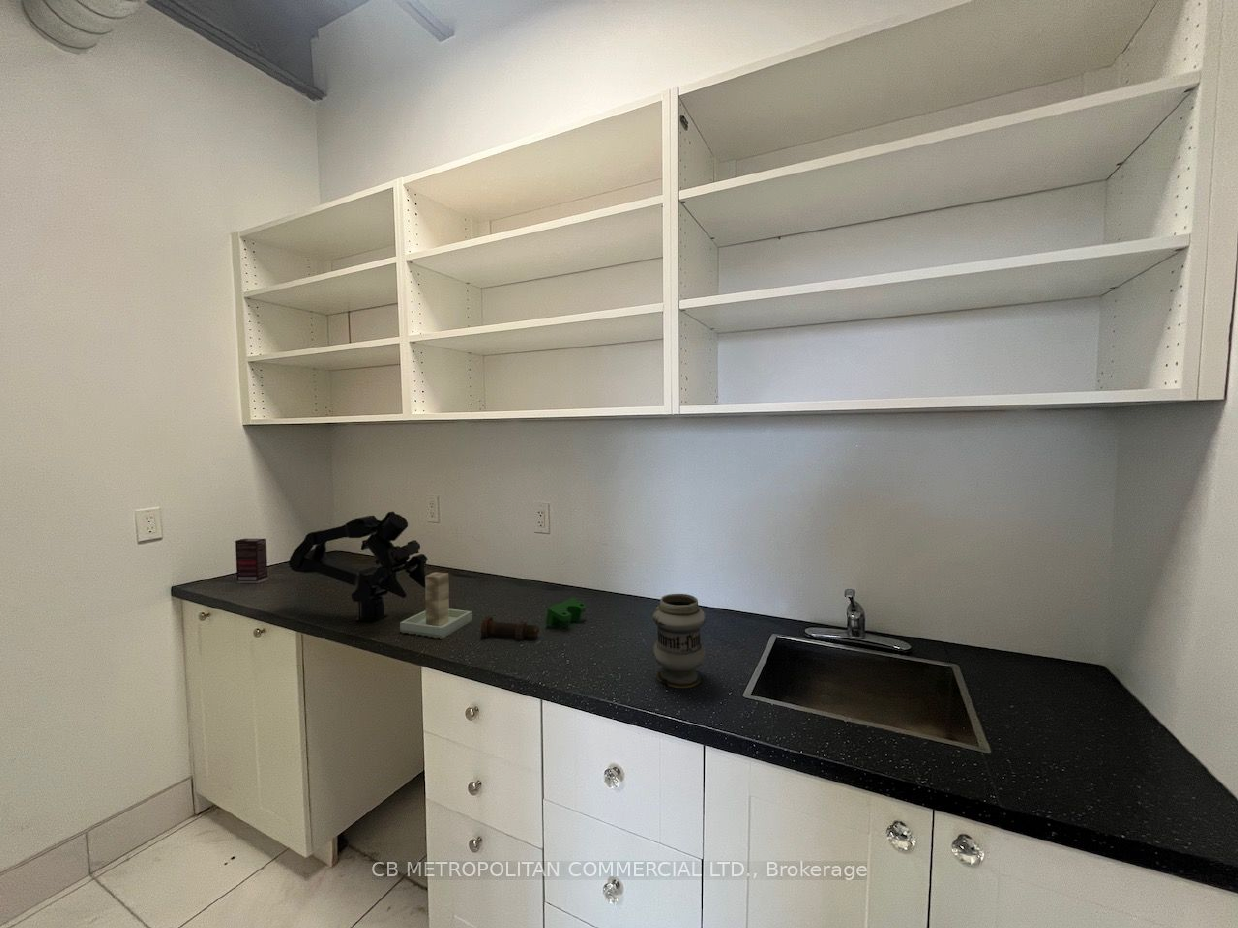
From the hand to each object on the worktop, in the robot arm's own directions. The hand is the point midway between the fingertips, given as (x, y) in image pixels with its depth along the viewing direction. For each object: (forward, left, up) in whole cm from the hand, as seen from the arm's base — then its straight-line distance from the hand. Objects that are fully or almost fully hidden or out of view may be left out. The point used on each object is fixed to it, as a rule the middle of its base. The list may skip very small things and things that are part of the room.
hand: (416, 592), depth 141 cm
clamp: (+41, +14, -10) cm, 44 cm away
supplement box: (-88, +17, -10) cm, 90 cm away
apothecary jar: (+78, -8, -10) cm, 79 cm away
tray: (+7, 0, -9) cm, 12 cm away
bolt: (+30, 0, -10) cm, 32 cm away
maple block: (+7, 0, -8) cm, 11 cm away
